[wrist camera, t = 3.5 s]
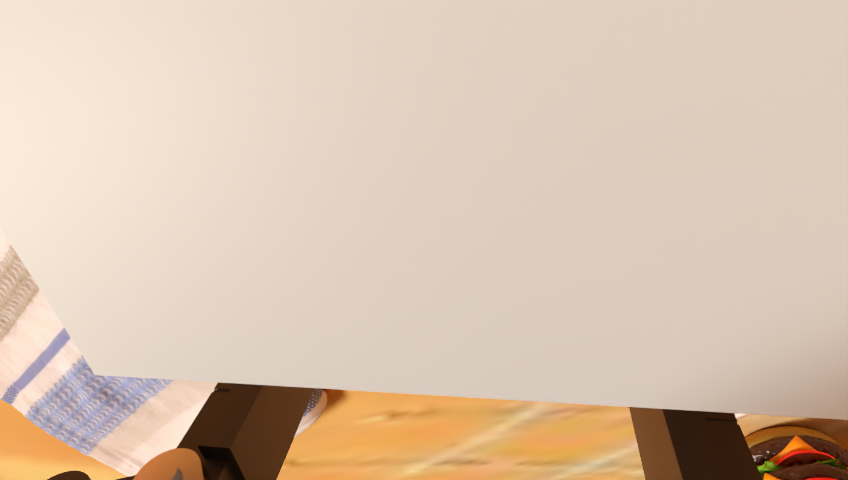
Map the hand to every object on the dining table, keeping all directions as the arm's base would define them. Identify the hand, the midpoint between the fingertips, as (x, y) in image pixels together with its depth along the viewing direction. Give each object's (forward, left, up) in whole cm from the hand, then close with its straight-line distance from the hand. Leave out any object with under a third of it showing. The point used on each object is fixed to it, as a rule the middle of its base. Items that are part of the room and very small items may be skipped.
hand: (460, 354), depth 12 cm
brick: (0, -7, -2) cm, 7 cm away
